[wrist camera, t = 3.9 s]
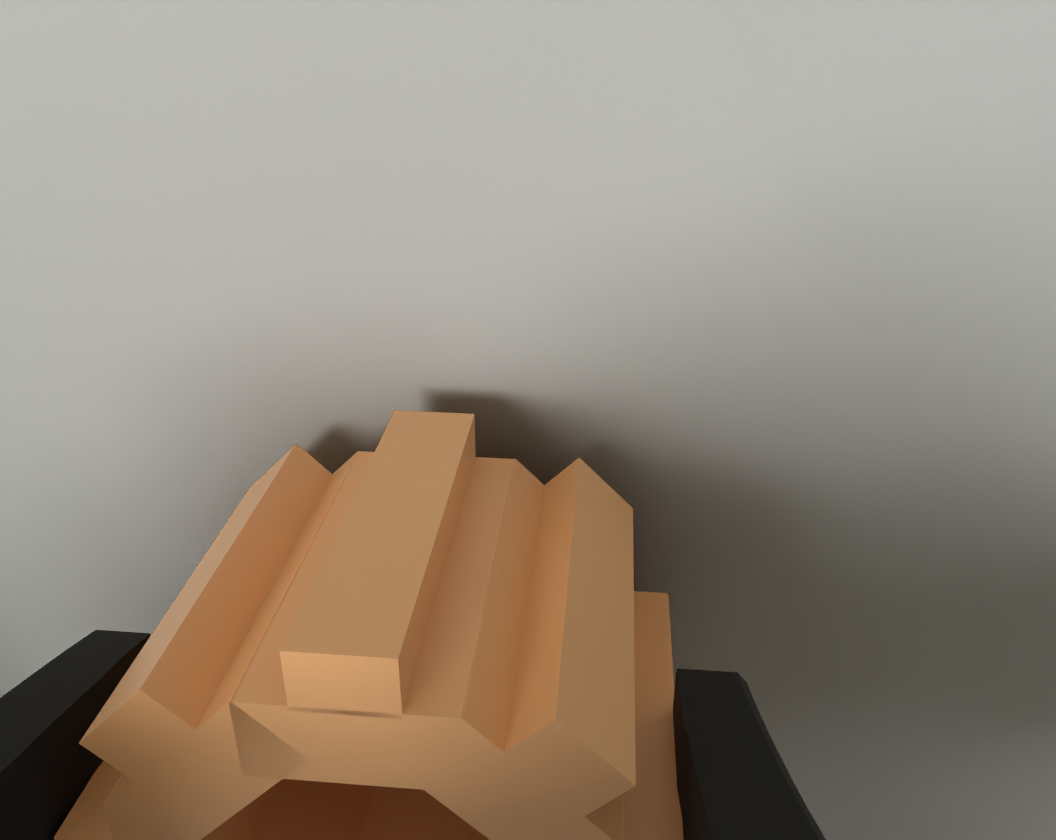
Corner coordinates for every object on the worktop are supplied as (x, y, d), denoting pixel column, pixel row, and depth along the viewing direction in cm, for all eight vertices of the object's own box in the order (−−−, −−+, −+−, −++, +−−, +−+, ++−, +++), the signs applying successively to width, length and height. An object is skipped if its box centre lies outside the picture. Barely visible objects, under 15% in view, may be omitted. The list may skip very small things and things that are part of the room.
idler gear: (255, 752, 13) (123, 1050, 10) (195, 400, 11) (-14, 631, 7) (651, 783, 13) (659, 1105, 9) (684, 423, 10) (712, 679, 7)
